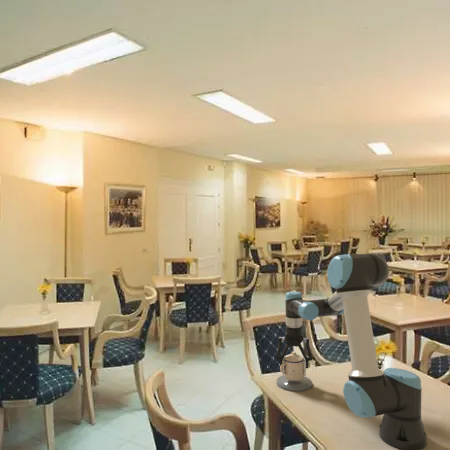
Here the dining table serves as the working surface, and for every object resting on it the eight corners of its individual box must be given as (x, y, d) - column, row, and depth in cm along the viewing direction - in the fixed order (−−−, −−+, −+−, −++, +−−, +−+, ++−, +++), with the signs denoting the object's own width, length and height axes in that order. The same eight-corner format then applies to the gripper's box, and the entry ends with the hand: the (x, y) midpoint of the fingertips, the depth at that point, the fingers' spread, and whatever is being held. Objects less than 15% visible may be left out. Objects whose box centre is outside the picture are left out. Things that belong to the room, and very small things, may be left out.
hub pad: (318, 387, 184) (318, 385, 184) (287, 393, 178) (287, 390, 178) (299, 375, 199) (299, 372, 199) (270, 380, 193) (270, 377, 193)
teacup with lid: (297, 372, 195) (296, 347, 195) (308, 378, 187) (307, 353, 186) (275, 376, 190) (274, 351, 190) (286, 383, 182) (285, 357, 181)
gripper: (317, 324, 190) (317, 372, 190) (270, 322, 193) (270, 370, 193) (318, 328, 182) (318, 378, 183) (269, 327, 186) (270, 376, 186)
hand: (294, 374), depth 188 cm, fingers closed on teacup with lid, 9 cm apart
